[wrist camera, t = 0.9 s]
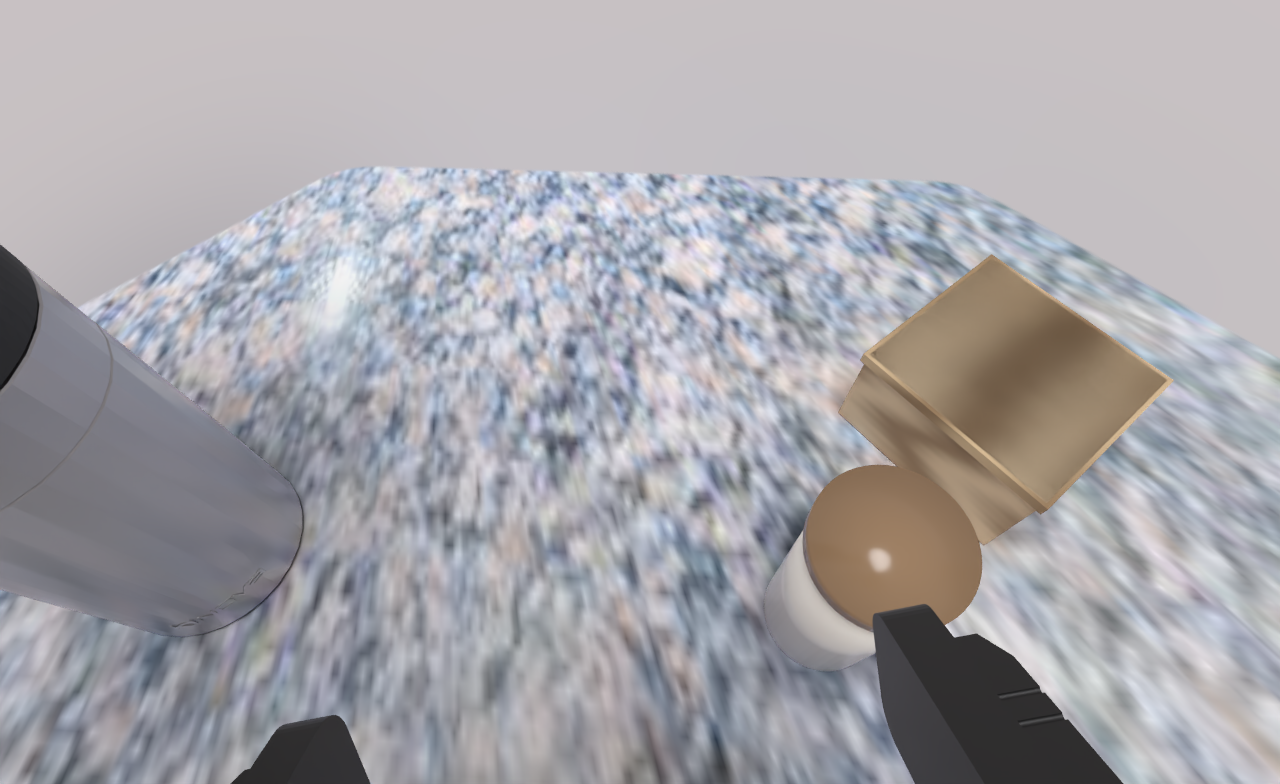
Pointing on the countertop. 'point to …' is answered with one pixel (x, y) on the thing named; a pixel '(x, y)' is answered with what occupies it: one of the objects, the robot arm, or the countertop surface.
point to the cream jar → (870, 564)
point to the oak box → (999, 395)
